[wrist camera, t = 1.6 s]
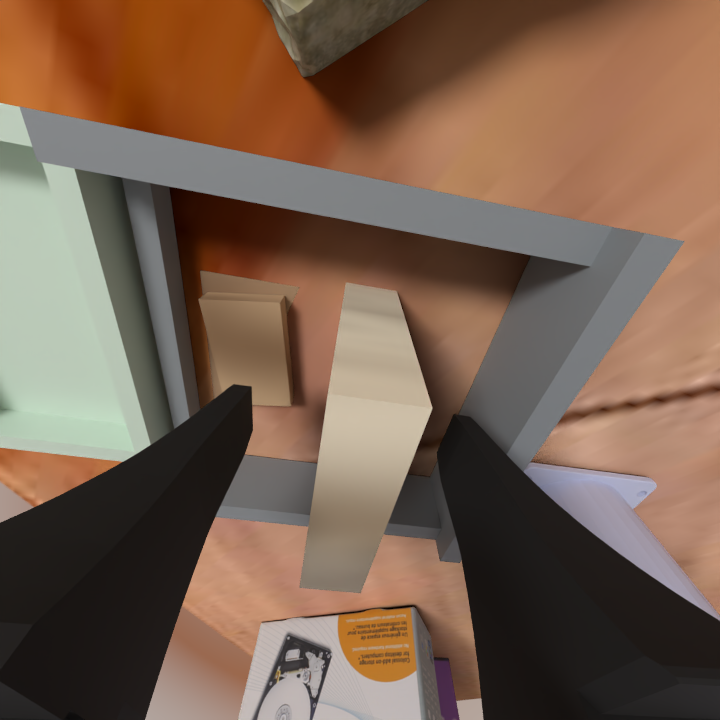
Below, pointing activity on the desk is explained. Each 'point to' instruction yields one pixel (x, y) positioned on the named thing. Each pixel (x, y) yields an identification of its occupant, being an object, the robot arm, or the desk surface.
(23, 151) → the tray
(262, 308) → the offcut
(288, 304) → the offcut
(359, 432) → the panel
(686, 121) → the desk surface
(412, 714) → the hard drive box
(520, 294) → the grey shallow square frame
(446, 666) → the cereal box
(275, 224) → the desk surface
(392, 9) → the decorative tile
